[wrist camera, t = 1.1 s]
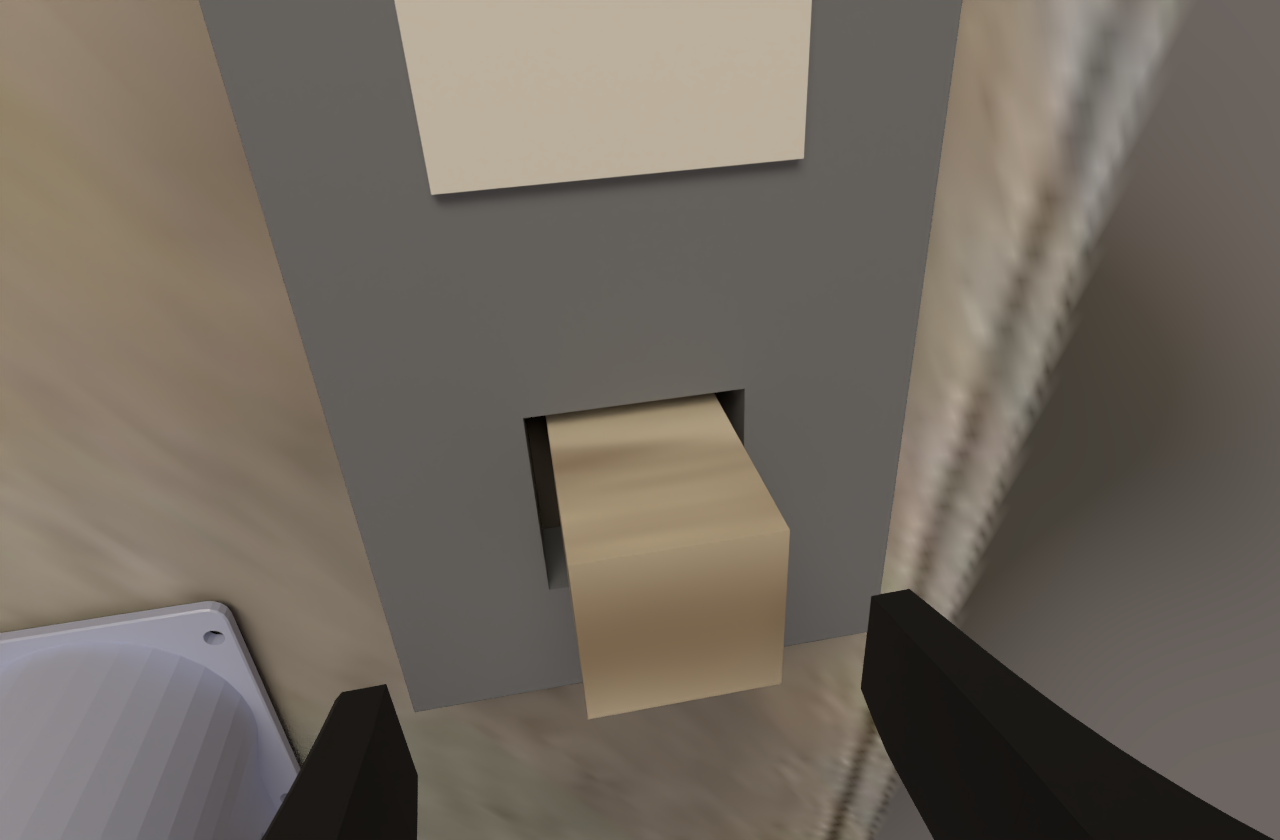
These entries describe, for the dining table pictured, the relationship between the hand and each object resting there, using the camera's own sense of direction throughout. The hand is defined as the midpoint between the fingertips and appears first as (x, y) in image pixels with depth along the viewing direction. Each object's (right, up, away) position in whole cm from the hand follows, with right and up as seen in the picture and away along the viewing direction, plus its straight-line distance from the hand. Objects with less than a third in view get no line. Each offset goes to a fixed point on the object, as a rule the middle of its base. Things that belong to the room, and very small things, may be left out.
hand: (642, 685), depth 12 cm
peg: (0, +3, +9) cm, 10 cm away
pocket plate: (-1, +8, +7) cm, 10 cm away
